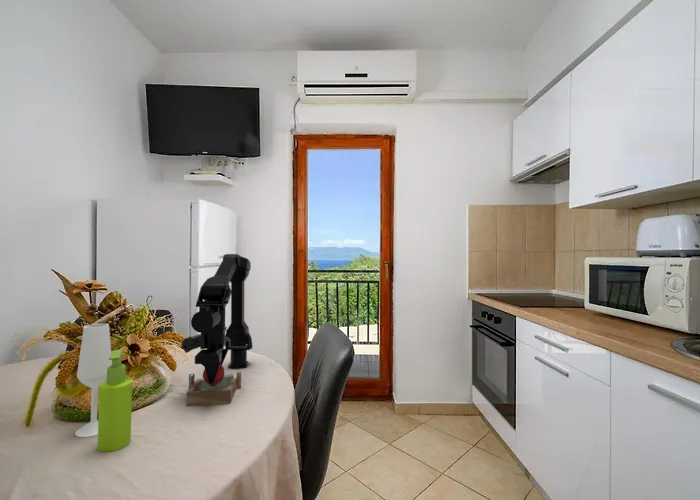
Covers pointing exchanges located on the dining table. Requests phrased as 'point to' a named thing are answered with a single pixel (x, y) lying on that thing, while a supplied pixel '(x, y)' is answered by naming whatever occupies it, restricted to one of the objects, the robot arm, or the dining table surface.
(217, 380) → the pomegranate
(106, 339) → the champagne flute
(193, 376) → the pin
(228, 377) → the leg bar
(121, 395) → the soap dispenser
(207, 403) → the brown u-shaped frame
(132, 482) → the dining table surface
